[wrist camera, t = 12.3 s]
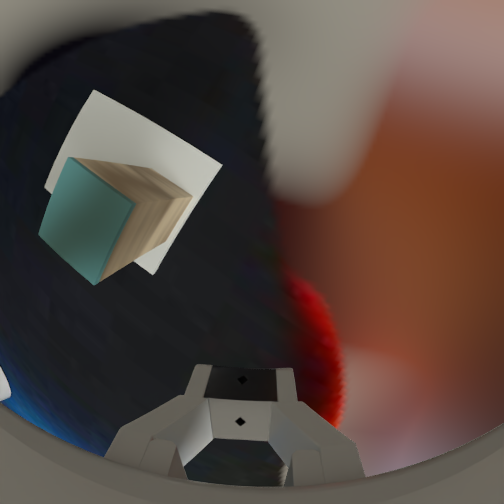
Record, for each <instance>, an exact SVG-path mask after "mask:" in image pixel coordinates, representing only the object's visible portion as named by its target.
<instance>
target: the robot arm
mask: <svg viewBox="0 0 504 504" xmlns="http://www.w3.org/2000/svg"><path fill="white" fill-rule="evenodd" d="M10 396H11V391H10V387H9V384H8V381H7V379H6V377H5V375H4V373H3V371H2V369H1V367H0V401H2V400H4V399H6V398H9V397H10ZM213 438H224V439H242V440H258V441H268V442H269V443H270V445H271V446H272V447H273V449H274V450H275V451H276V453H277V454H278V455H279V456H280V458H281V459H282V460H283V461H284V463H285V464H286V465H287V466H288V468H289V469H288V472H287V476H286V480H285V484H284V487H247V486H231V485H220V484H212V483H204V482H197V481H191V480H188V479H187V476H186V473H185V470H184V467H183V466H184V465H185V464H187V463H188V462H189V461H190V460H191V459H192V458H193V457H194V456H195V455H197V454H198V453H199V452H200V451H201V450H202V449H203V448H204V447H205V446H206V445H207V444H208V443H209V442H211V441H212V440H213ZM0 504H504V423H503V424H501V425H500V426H498V427H496V428H495V429H493V430H491V431H489V432H488V433H486V434H484V435H482V436H480V437H478V438H476V439H474V440H472V441H470V442H468V443H466V444H464V445H462V446H460V447H458V448H455V449H453V450H451V451H448V452H446V453H444V454H441V455H439V456H436V457H434V458H431V459H428V460H426V461H422V462H420V463H417V464H414V465H410V466H407V467H404V468H401V469H397V470H394V471H390V472H386V473H382V474H378V475H373V476H369V477H365V474H364V470H363V467H362V463H361V460H360V457H359V453H358V450H357V447H356V443H354V442H353V441H352V440H350V439H349V438H348V437H346V436H345V435H344V434H342V433H341V432H340V431H338V430H337V429H336V428H334V427H333V426H332V425H331V424H329V423H328V422H327V421H325V420H324V419H323V418H322V417H320V416H319V415H318V414H317V413H315V412H314V411H313V410H312V409H311V408H309V407H308V406H307V405H306V404H305V403H303V402H298V401H297V394H296V388H295V381H294V374H293V369H292V368H276V369H253V368H238V367H226V366H215V365H213V366H212V365H204V364H197V365H196V366H195V368H194V371H193V374H192V376H191V379H190V381H189V384H188V387H187V389H186V392H185V395H184V396H183V395H179V396H177V397H175V398H174V399H172V400H170V401H169V402H167V403H165V404H163V405H162V406H160V407H158V408H156V409H155V410H153V411H151V412H149V413H147V414H146V415H144V416H142V417H140V418H138V419H136V420H134V421H133V422H131V423H129V424H127V425H125V426H123V427H121V428H120V430H119V431H118V433H117V435H116V437H115V439H114V440H113V442H112V444H111V446H110V448H109V449H108V451H107V453H106V455H105V457H101V456H98V455H96V454H93V453H91V452H88V451H86V450H84V449H81V448H79V447H77V446H75V445H72V444H70V443H68V442H66V441H64V440H62V439H60V438H58V437H56V436H54V435H52V434H50V433H48V432H46V431H44V430H43V429H41V428H39V427H37V426H36V425H34V424H32V423H30V422H29V421H27V420H26V419H24V418H22V417H21V416H19V415H18V414H16V413H15V412H13V411H12V410H10V409H9V408H7V407H6V406H4V405H3V404H1V403H0Z"/></svg>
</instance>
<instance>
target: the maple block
mask: <svg viewBox="0 0 504 504" xmlns="http://www.w3.org/2000/svg"><path fill="white" fill-rule="evenodd" d="M192 198H193V196H192V195H191V194H189V193H188V192H186V191H185V190H183V189H182V188H180V187H179V186H177V185H176V184H174V183H173V182H171V181H170V180H168V179H167V178H165V177H164V176H162V175H161V174H159V173H158V172H156V171H155V170H153V169H152V168H146V167H140V166H134V165H127V164H121V163H114V162H107V161H99V160H92V159H83V158H75V157H68V158H67V160H66V162H65V164H64V167H63V169H62V171H61V173H60V176H59V178H58V180H57V183H56V185H55V188H54V190H53V193H52V196H51V198H50V201H49V204H48V206H47V209H46V212H45V215H44V218H43V221H42V224H41V227H40V231H39V234H38V235H39V236H40V237H41V238H42V239H43V240H44V241H45V242H46V243H47V244H48V245H49V246H50V247H51V248H52V249H54V250H55V251H56V252H57V253H58V254H59V255H60V256H61V257H62V258H63V259H64V260H65V261H66V262H68V263H69V264H70V265H71V266H72V267H73V268H74V269H75V270H77V271H78V272H79V273H80V274H81V275H82V276H84V277H85V278H86V279H87V280H88V281H89V282H91V283H92V284H93V285H95V284H97V283H99V282H100V281H102V280H103V279H105V278H106V277H108V276H110V275H111V274H113V273H114V272H116V271H118V270H119V269H121V268H122V267H124V266H126V265H127V264H129V263H130V262H132V261H134V260H135V259H137V258H139V257H140V256H142V255H144V254H145V253H147V252H149V251H150V250H152V249H154V248H155V247H157V246H159V245H161V244H162V243H164V242H166V240H167V239H168V237H169V235H170V234H171V232H172V230H173V229H174V227H175V225H176V224H177V222H178V220H179V219H180V217H181V216H182V214H183V212H184V211H185V209H186V208H187V206H188V204H189V203H190V201H191V200H192Z"/></svg>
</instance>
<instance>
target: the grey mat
mask: <svg viewBox="0 0 504 504" xmlns="http://www.w3.org/2000/svg"><path fill="white" fill-rule="evenodd" d="M68 157H75V158H83V159H92V160H99V161H107V162H114V163H121V164H127V165H134V166H140V167H146V168H152V169H153V170H155V171H156V172H158V173H159V174H161V175H162V176H164V177H165V178H167V179H168V180H170V181H171V182H173V183H174V184H176V185H177V186H179V187H180V188H182V189H183V190H185V191H186V192H188V193H189V194H191V195H192V196H193V198H192V200H191V201H190V203H189V204H188V206H187V208H186V209H185V211H184V212H183V214H182V216H181V217H180V219H179V220H178V222H177V224H176V225H175V227H174V229H173V230H172V232H171V234H170V235H169V237H168V239H167V240H166V242H164V243H162V244H161V245H159V246H157V247H155V248H154V249H152V250H150V251H149V252H147V253H145V254H144V255H142V256H140V257H139V258H137V259H135V260H134V262H136V263H137V264H138V265H140V266H141V267H143V268H144V269H145V270H147V271H148V272H149V273H151V274H152V275H153V274H154V273H155V272H156V270H157V268H158V267H159V265H160V263H161V261H162V260H163V258H164V256H165V254H166V253H167V251H168V249H169V248H170V246H171V244H172V243H173V241H174V239H175V238H176V236H177V234H178V233H179V231H180V229H181V228H182V226H183V225H184V223H185V221H186V220H187V218H188V217H189V215H190V213H191V212H192V210H193V209H194V207H195V206H196V204H197V202H198V201H199V199H200V198H201V196H202V195H203V193H204V192H205V190H206V189H207V187H208V186H209V184H210V183H211V181H212V180H213V178H214V177H215V175H216V174H217V172H218V171H219V169H220V168H221V167H222V165H221V164H220V163H218V162H217V161H215V160H214V159H212V158H211V157H209V156H207V155H206V154H204V153H203V152H201V151H200V150H198V149H196V148H195V147H193V146H192V145H190V144H188V143H187V142H185V141H183V140H182V139H180V138H179V137H177V136H175V135H174V134H172V133H170V132H169V131H167V130H165V129H164V128H162V127H160V126H159V125H157V124H155V123H153V122H152V121H150V120H148V119H147V118H145V117H143V116H141V115H140V114H138V113H136V112H134V111H133V110H131V109H129V108H127V107H125V106H124V105H122V104H120V103H118V102H116V101H114V100H113V99H111V98H109V97H107V96H105V95H103V94H101V93H99V92H97V91H96V90H93V92H92V93H91V95H90V96H89V98H88V100H87V101H86V103H85V104H84V106H83V108H82V109H81V111H80V113H79V115H78V116H77V118H76V120H75V122H74V124H73V126H72V127H71V129H70V131H69V133H68V135H67V137H66V139H65V141H64V143H63V145H62V147H61V149H60V151H59V154H58V156H57V158H56V160H55V162H54V165H53V167H52V169H51V172H50V174H49V177H48V179H47V182H46V184H45V188H46V189H47V190H48V191H49V192H50V193H51V194H52V193H53V190H54V188H55V185H56V183H57V180H58V178H59V176H60V173H61V171H62V169H63V167H64V164H65V162H66V160H67V158H68Z"/></svg>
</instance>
